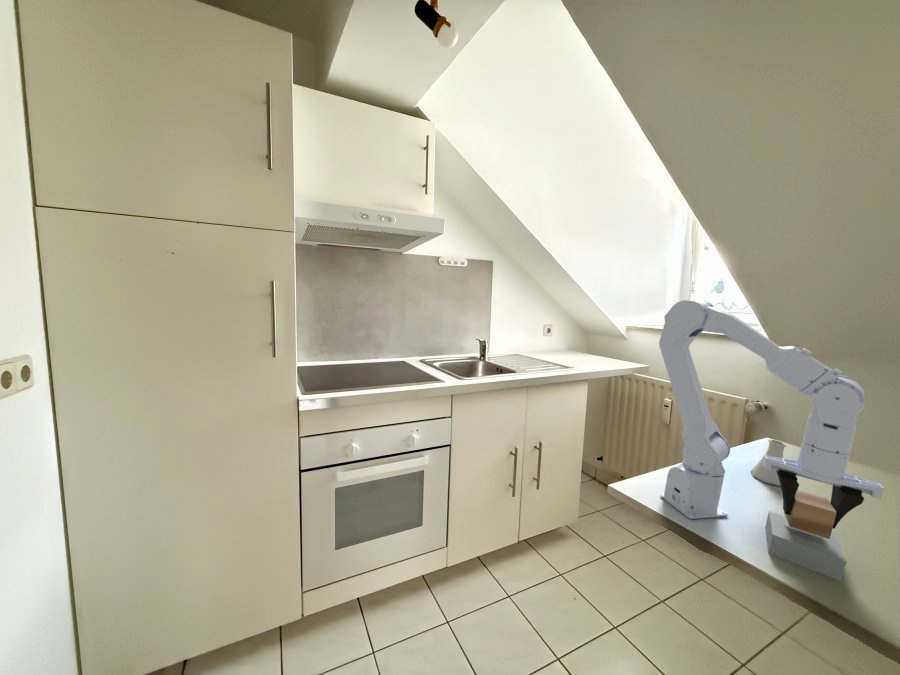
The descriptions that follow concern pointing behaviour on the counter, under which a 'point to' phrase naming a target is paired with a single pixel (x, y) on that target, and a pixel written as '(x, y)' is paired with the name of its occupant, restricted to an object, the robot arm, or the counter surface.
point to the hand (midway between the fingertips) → (807, 518)
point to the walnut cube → (812, 514)
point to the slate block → (804, 547)
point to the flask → (765, 474)
